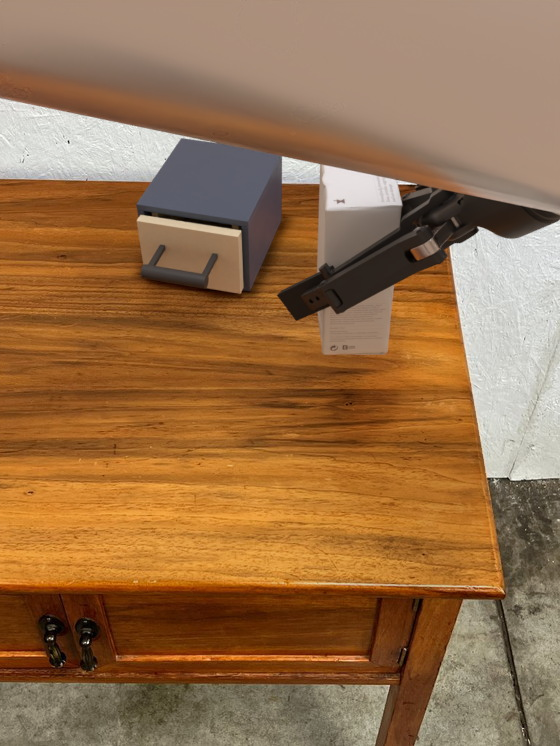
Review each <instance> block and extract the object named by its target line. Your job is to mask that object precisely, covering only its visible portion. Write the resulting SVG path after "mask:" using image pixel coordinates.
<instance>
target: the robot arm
mask: <svg viewBox="0 0 560 746" xmlns="http://www.w3.org/2000/svg"><path fill="white" fill-rule="evenodd" d="M0 99H1V100H2V99H3V100H6V101H10V102H16V103H21V104H27V105H31V106H36V107H41V108H45V109H50V110H55V111H60V112H65V113H68V114H69V113H70V114H74V115H78V116H79V115H80V116H85V117H88V118H89V117H90V118H94V119H99V120H103V121H109V122H114V123H118V124H123V125H128V126H133V127H138V128H141V129H148V130H151V131H158V132H161V133H167V134H171V135H176V136H181V137H186V138H190V139H194V140H199V141H206V142H213V143H220V144H225V145H229V146H234V147H239V148H244V149H249V150H254V151H258V152H263V153H268V154H273V155H278V156H282V158H288V159H292V160H298V161H303V162H307V163H313V164H316V165H320V164H322V165H326V166H331V167H336V168H341V169H346V170H351V171H356V172H360V173H365V174H370V175H375V176H380V177H385V178H389V179H394V180H397V181H401V182H404V183H409V184H414V185H415V186H414V191H412V192H408V193H405V194H404V195H402V196H401V201H402V209H401V218H400V227H398V228H397V229H395V230H394V231H392V232H391V233H389V234H388V235H386V236H385V237H383V238H381V239H380V240H378V241H377V242H375V243H374V244H372V245H371V246H369V247H368V248H366V249H364V250H363V251H361V252H360V253H358V254H357V255H355V256H354V257H352V258H351V259H349V260H347V261H346V262H344V263H343V264H341V265H340V266H338V267H337V268H334V266H333V265H332V266H330V267H329V266H328V264H327V263H325V264H323V265H322V266H321V267H320V268H319V271H320V272H318V273H317V272H316V273H314V274H311V275H310V276H308V277H306V278H304V279H302V280H299V281H298V282H295V283H294V284H292V285H289V286H288V287H286V288H284V289H281V290H280V292H278V294H276V296H277V298H278V299H279V300H280V301H281V303H282V305H284V307H285V309H286V310H287V311H288V313H289V314H290V315H291V317H292V318H293V319H294V320H295V322H297V321H300V320H302V319H304V318H307V317H309V316H311V315H314V314H316V313H318V311H321V310H323V309H325V308H328V307H330V306H331V308H332V309H333V310H334V312H335V313H336V314H340V313H343V312H345V311H346V310H347V309H349V308H351V307H353V306H355V305H357V304H359V303H360V302H362V301H364V300H366V299H368V298H370V297H372V296H374V295H376V294H377V293H379V292H381V291H383V290H385V289H387V288H389V287H391V286H392V285H394V286H395V285H396V284H399V282H402V281H404V280H405V279H407V278H409V277H412V276H413V275H415V274H417V273H419V272H422V271H424V270H427V269H429V268H432V267H435V266H437V265H441V264H442V263H444V262H445V260H447V258H448V253H447V252H446V251H445V250H446V249H448V248H450V247H451V246H453V245H454V244H463V243H464V242H466V241H467V240H469V239H471V238H472V237H473V236H475V235H477V234H478V233H479V231H480V229H479V228H481V229H483V230H487V231H488V232H491V233H493V234H494V235H496V236H498V237H500V238H503V239H506V240H507V239H508V240H515V239H519V238H522V237H525V236H527V235H530V234H531V233H534V232H536V231H539V230H541V229H543V228H546V227H548V226H550V225H553V224H555V223H558V222H559V221H560V0H0Z"/></svg>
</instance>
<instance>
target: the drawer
mask: <svg viewBox="0 0 560 746" xmlns="http://www.w3.org/2000/svg"><path fill="white" fill-rule="evenodd" d="M136 228H137V233H138V241H139V246H140V253H141V260H142V264H143V265H141V269H140V277H141V279H145V280H151V281H155V282H156V281H158V282H162V283H168V284H175V285H180V286H185V287H192V288H198V289H204V290H206V289H209V290H214V291H215V290H216V291H221V292H227V293H234V294H239V295H241V294H242V291H244V290H243V260H242V233H241V226H237V225H230V224H224V223H217V222H211V221H205V220H198V219H192V218H185V217H179V216H172V215H166V214H160V213H153V212H152V216H145V215H140V216H139V218H138V217H137V219H136Z"/></svg>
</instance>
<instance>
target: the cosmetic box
mask: <svg viewBox="0 0 560 746" xmlns="http://www.w3.org/2000/svg"><path fill="white" fill-rule="evenodd" d="M318 191H319V192H318V219H317V220H318V224H317V253H316V254H317V256H316V257H317V258H316V273H318V272H320V271H319V268H320V267H321V266H322V265H323V264H325V263H327V264H328V266H329V267H330V266H332V265H333V266H334V268H337V267H338V266H340V265H341V264H343V263H344V262H346V261H347V260H349V259H351V258H352V257H354V256H355V255H357V254H358V253H360V252H361V251H363V250H364V249H366V248H368V247H369V246H371V245H372V244H374V243H375V242H377V241H378V240H380V239H381V238H383V237H385V236H386V235H388V234H389V233H391V232H392V231H394V230H395V229H397V228H398V227H400V218H401V209H402V201H401V198H402V196H401V193H400V188H399V184H398V180H394V179H389V178H385V177H380V176H375V175H370V174H365V173H360V172H356V171H351V170H346V169H341V168H336V167H331V166H326V165H322V164H319V190H318ZM394 288H395V284H394V285H392V286H391V287H389V288H387V289H385V290H383V291H381V292H379V293H377V294H376V295H374V296H372V297H370V298H368V299H366V300H364V301H362V302H360V303H359V304H357V305H355V306H353V307H351V308H349V309H347V310H346V311H345V312H343V313H340V314H336V313H335V312H334V310H333V309H332V308H331V306H330V307H328V308H325V309H323V310H321V311H318V312H317V320H318V321H317V322H318V329H319V338H320V343H321V354H322V355H326V356H335V355H336V356H337V355H354V356H355V355H357V356H358V355H359V356H385V355H387V354H388V351H389V341H390V330H391V319H392V309H393V308H392V307H393V299H394V290H395V289H394Z"/></svg>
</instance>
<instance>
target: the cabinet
mask: <svg viewBox="0 0 560 746" xmlns="http://www.w3.org/2000/svg"><path fill="white" fill-rule="evenodd" d="M136 212H137V219H138V218H139V216H140V215H145V216H152V212H153V213H160V214H166V215H172V216H179V217H185V218H192V219H198V220H205V221H211V222H217V223H224V224H230V225H237V226H241V233H242V260H243V290H242V291H245V292H251V290H252V288H253V286H254V283H255V281H256V279H257V277H258V275H259V272H260V269H261V267H262V266H263V264H264V261H265V259H266V256H267V254H268V252H269V250H270V247H271V245H272V242H273V241H274V238H275V235H276V233H277V231H278V229H279V226H280V225H281V223H282V219H283V217H282V216H283V215H282V214H283V156H278V155H273V154H268V153H263V152H258V151H254V150H249V149H244V148H239V147H234V146H229V145H225V144H220V143H215V142H210V141H205V140H200V139H192V138H183V137H181V138H180V139H179V141H178V142H177V143H176V145H175V147H174V148H173V149H172V151H171V152H170V154H169V155H168V157H167V158H166V159H165V161H164V163H163V164H162V166H161V167H160V169H159V170H158V171H157V173H156V174H155V176H154V177H153V179H152V180H151V182H150V183H149V184H148V186H147V188H146V189H145V191H144V192H143V194H142V195H141V196H140V197H139V199H138V201H137V202H136Z"/></svg>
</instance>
